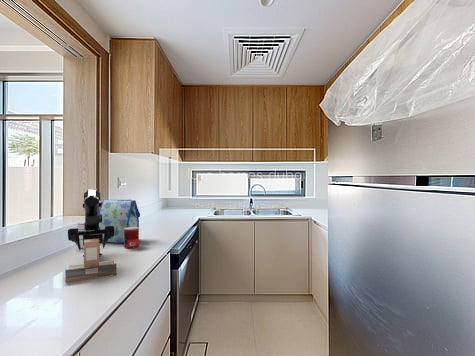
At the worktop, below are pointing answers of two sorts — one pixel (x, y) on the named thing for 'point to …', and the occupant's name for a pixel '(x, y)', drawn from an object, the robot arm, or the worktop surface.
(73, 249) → the worktop surface
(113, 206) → the lunch bag
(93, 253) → the carton
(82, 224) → the syrup box
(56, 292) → the worktop surface
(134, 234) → the canned food
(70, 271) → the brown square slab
